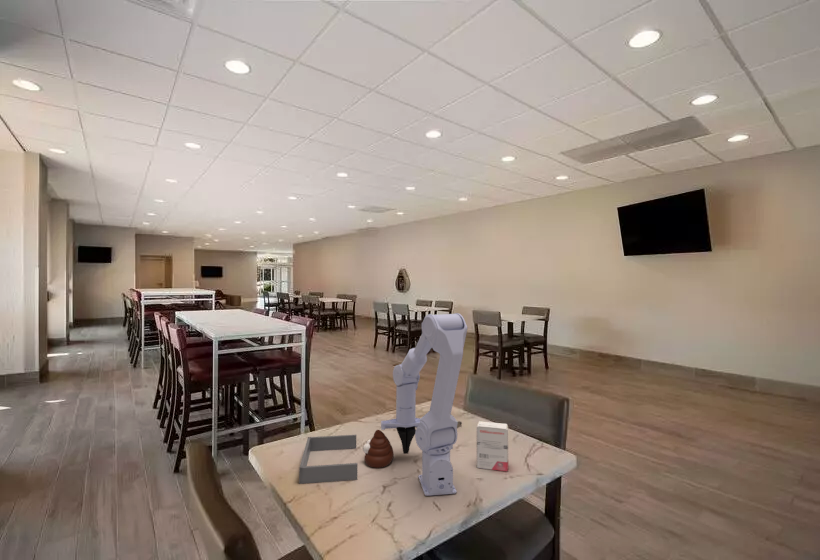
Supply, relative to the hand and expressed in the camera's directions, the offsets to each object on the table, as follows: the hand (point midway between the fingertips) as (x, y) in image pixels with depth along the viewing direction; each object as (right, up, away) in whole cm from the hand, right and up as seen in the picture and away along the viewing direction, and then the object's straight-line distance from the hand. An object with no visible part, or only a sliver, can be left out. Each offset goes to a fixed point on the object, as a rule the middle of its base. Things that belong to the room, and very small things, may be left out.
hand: (405, 452), depth 111 cm
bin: (-21, -2, -3) cm, 21 cm away
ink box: (+25, -2, -4) cm, 25 cm away
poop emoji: (-8, -2, -1) cm, 8 cm away
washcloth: (+10, -3, +25) cm, 27 cm away
